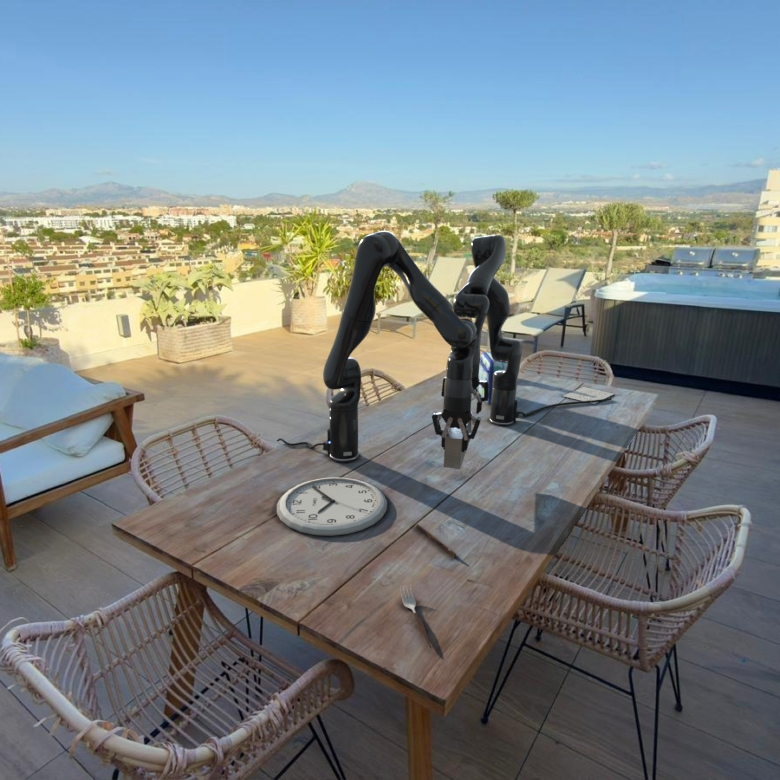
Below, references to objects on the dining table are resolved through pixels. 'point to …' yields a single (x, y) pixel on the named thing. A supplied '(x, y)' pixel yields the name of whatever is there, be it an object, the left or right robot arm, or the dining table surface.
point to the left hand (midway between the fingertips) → (454, 449)
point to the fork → (411, 605)
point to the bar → (455, 447)
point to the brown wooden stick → (436, 541)
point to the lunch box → (488, 372)
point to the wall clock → (331, 506)
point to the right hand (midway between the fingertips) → (463, 411)
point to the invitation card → (588, 394)
